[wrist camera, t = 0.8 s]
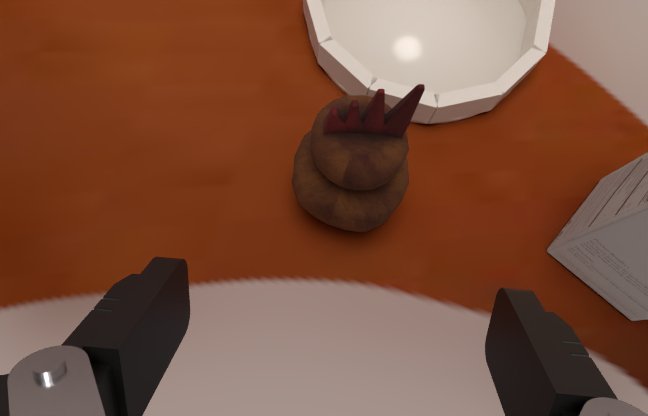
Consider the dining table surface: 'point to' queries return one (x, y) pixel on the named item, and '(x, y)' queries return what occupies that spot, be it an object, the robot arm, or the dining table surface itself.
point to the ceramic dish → (430, 49)
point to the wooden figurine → (355, 160)
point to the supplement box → (612, 240)
